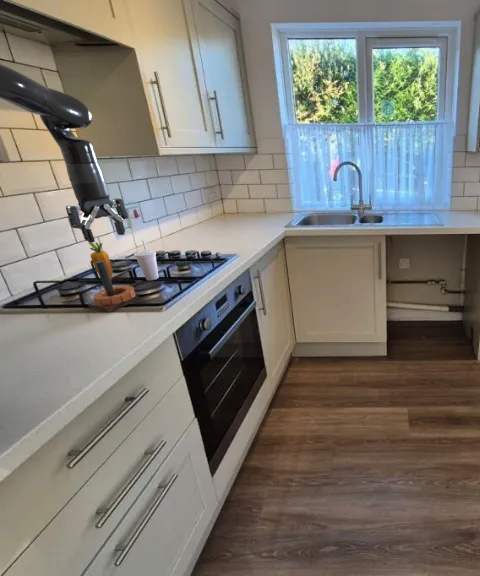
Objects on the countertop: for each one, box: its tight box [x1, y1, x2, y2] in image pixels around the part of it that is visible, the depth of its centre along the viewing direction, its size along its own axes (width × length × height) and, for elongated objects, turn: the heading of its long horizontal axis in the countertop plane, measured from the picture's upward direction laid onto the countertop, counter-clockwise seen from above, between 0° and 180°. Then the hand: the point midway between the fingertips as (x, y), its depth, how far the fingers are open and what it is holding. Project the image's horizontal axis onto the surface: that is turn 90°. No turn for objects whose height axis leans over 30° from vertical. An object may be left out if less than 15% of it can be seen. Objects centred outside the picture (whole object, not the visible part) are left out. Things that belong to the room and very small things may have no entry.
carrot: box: [88, 242, 113, 281], centre depth 122 cm, size 5×5×15 cm
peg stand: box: [87, 261, 139, 313], centre depth 106 cm, size 9×9×14 cm
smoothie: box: [134, 239, 160, 281], centre depth 125 cm, size 6×6×14 cm
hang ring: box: [93, 285, 137, 305], centre depth 109 cm, size 10×10×2 cm
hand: (107, 238), depth 105 cm, fingers open, 8 cm apart
